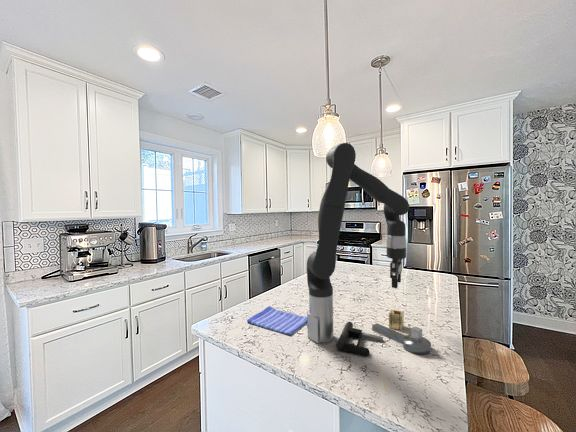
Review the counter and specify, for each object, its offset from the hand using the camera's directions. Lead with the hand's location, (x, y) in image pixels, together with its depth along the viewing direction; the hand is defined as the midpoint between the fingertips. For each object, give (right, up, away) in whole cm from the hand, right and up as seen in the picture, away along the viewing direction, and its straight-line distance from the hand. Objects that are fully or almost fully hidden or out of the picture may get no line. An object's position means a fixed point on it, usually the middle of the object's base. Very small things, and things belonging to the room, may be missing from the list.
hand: (396, 284), depth 111 cm
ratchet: (-3, -18, -10) cm, 21 cm away
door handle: (-18, -19, -11) cm, 28 cm away
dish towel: (-49, -19, +8) cm, 54 cm away
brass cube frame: (0, -18, +1) cm, 18 cm away
